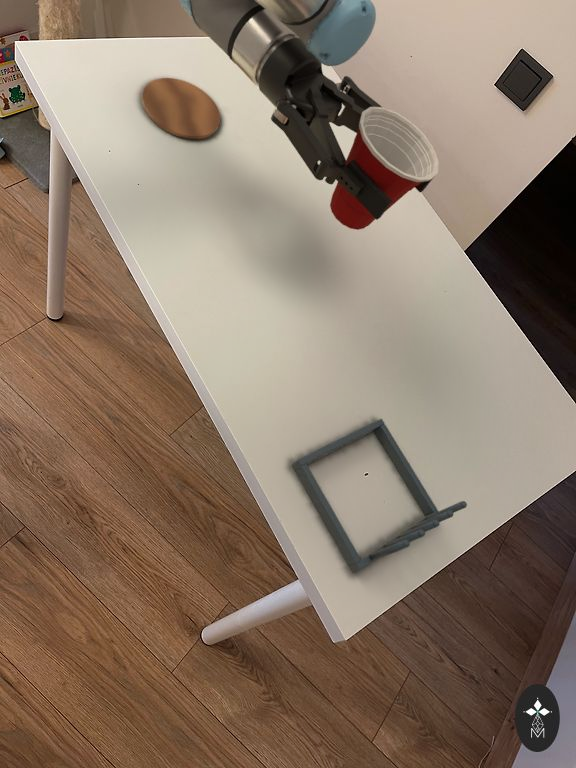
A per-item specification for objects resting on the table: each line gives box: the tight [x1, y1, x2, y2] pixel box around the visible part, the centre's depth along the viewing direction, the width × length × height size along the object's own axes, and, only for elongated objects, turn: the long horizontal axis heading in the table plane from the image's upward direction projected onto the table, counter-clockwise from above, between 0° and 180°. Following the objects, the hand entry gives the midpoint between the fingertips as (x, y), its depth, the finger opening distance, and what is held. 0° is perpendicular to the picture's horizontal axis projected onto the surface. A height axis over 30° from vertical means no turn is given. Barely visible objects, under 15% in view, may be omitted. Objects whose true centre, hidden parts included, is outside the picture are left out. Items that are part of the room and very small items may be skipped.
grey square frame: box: [291, 418, 468, 573], centre depth 70 cm, size 14×14×9 cm
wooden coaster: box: [141, 77, 221, 140], centre depth 91 cm, size 12×12×1 cm
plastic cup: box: [329, 106, 440, 231], centre depth 71 cm, size 11×11×12 cm
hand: (407, 196), depth 70 cm, fingers closed on plastic cup, 9 cm apart
